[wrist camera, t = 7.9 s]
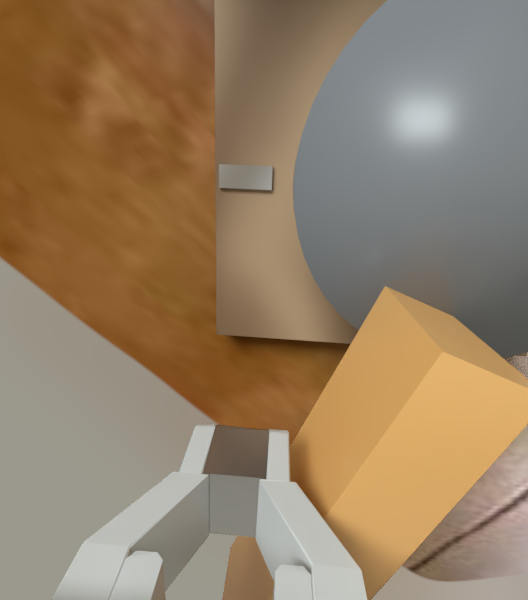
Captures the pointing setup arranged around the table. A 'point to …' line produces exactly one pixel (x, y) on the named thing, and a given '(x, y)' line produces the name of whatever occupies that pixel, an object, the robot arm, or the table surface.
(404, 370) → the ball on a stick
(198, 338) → the table surface
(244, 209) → the base plate
